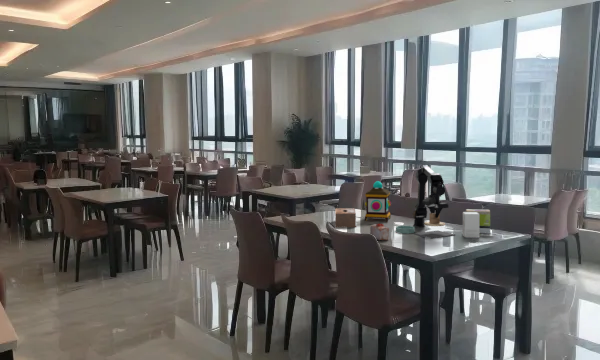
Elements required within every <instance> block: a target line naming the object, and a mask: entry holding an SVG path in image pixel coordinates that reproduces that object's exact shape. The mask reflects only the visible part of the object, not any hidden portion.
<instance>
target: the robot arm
mask: <svg viewBox="0 0 600 360" xmlns="http://www.w3.org/2000/svg"><path fill="white" fill-rule="evenodd" d="M415 178H416V179H415V180H416V182H417V183H418V188H417V202H416V205H414V210H413V213H412V218H413V219H414V220H413V223H414V224H413V225H412V226H413V227H415V228H423V227H426V225H424V222H425V219H427V216H428V209H429V211H430V212H429V213H435V215H436V218H438V216H439V214H440V215H441V212H442V210H443V209H447V208H448V209H449V207H450V206H449V204H448V202H442V201H440V200H441V198H440V197H442V195H444V194H445V193H446V188H445V187H444V186H443V185H444V183H445V182H444V179H443V176H442V175H441V173H438V172H435V171H434V170H432V168H431V166H422V167H421V168H419V169H418V170H417V171H416V172H415ZM428 182H429V186H430V192H429V193H430V194H429V195H428V197H427V198H426V197H425V196H426V183H428Z"/></svg>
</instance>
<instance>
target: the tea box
mask: <svg viewBox="0 0 600 360" xmlns="http://www.w3.org/2000/svg"><path fill="white" fill-rule="evenodd" d="M465 212H477V213H478V214H479V234H485V235H486V234H489V235H490V234H491V210H490V209H475V208H473V209H469V208H467V209H465Z"/></svg>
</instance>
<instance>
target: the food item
mask: <svg viewBox="0 0 600 360" xmlns="http://www.w3.org/2000/svg"><path fill="white" fill-rule="evenodd" d="M369 227H370V228H369V229H370V230H369V231H370V232H369V235H370V234H372V235H374V236H375V237H376V239H375V240H378V241H380V240H384V241H389V235H390V228H389V227H387V226H385V225H384V224H383V223H374V224H371V225H370V226H369Z"/></svg>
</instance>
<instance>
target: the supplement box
mask: <svg viewBox="0 0 600 360" xmlns="http://www.w3.org/2000/svg"><path fill="white" fill-rule="evenodd" d="M462 236H463V238H471V239H473V238H478V239H479V238H480V233H479V214H478V213H477V212H466V211H462Z"/></svg>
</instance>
